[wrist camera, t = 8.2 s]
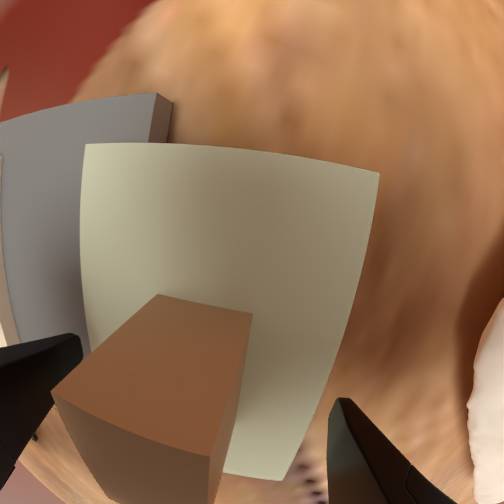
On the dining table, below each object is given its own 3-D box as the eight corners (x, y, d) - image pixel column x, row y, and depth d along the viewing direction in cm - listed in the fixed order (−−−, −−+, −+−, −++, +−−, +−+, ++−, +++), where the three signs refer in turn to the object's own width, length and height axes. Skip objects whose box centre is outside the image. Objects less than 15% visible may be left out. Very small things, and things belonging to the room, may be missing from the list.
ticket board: (163, 434, 14) (147, 467, 11) (-13, 337, 16) (-31, 350, 13) (173, 102, 9) (137, 80, 7) (-30, 139, 11) (-55, 140, 8)
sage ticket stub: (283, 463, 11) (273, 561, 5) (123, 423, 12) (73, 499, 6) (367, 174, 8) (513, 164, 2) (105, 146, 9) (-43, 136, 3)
